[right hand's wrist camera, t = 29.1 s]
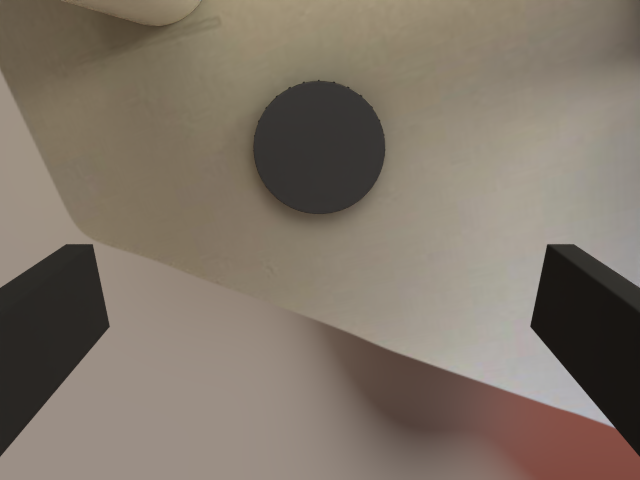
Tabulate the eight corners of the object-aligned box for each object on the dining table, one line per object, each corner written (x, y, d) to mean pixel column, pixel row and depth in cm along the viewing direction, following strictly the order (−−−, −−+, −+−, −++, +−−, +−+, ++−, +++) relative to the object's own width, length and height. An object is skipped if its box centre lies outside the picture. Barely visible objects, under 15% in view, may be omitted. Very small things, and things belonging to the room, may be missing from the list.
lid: (241, 186, 38) (237, 191, 37) (277, 60, 35) (274, 59, 33) (356, 223, 40) (357, 230, 38) (402, 106, 36) (406, 108, 34)
